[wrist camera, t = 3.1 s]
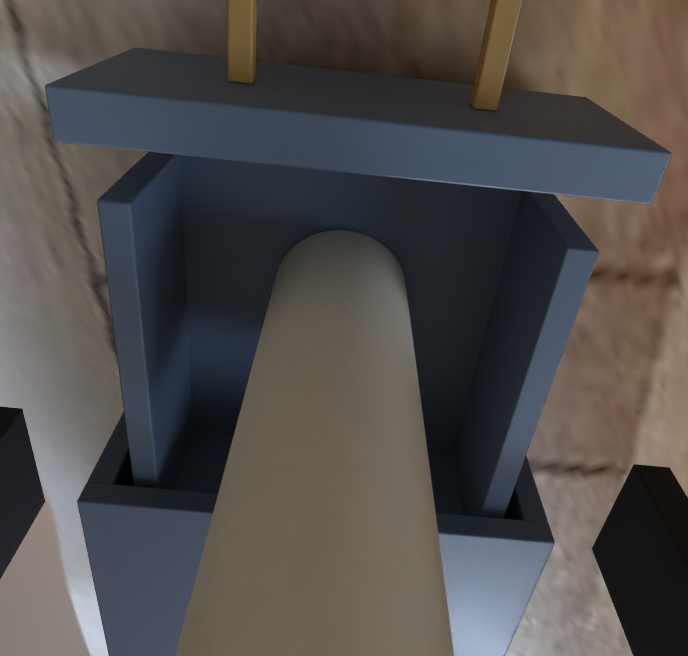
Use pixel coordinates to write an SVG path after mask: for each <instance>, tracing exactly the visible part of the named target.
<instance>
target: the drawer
mask: <svg viewBox="0 0 688 656" xmlns="http://www.w3.org/2000/svg"><path fill="white" fill-rule="evenodd" d="M521 3H522V0H491V3H490V8H489V13H488V17H487V22H486V27H485V32H484V37H483V42H482V47H481V52H480V57H479V62H478V67H477V72H476V77H475V82H474V85H470V84H461V83H452V82H443V81H434V80H424V79H415V78H406V77H397V76H388V75H379V74H370V73H361V72H352V71H343V70H334V69H325V68H316V67H307V66H298V65H289V64H280V63H271V62H262V61H256V22H257V0H227V16H228V58H225V57H216V56H207V55H198V54H189V53H180V52H171V51H162V50H153V49H144V48H133V49H130V50H128V51H126V52H123V53H121V54H118V55H116V56H114V57H111V58H109V59H106V60H104V61H102V62H99V63H97V64H95V65H92V66H90V67H87V68H85V69H83V70H80V71H78V72H75V73H73V74H71V75H68V76H66V77H63V78H61V79H59V80H56V81H54V82H52V83H49V84H47V85H46V86H45V91H46V97H47V103H48V109H49V115H50V122H51V128H52V134H53V139H54V141H56V142H62V143H71V144H81V145H90V146H100V147H109V148H119V149H128V150H138V151H147V152H148V153H147V154H146V155H145V156H144V157H143V158H142V159H141V160H139V161H138V162H137V163H136V164H135V165H134V166H133V167H132V168H131V169H130V170H129V171H128V172H127V173H126V174H124V175H123V176H122V177H121V178H120V179H119V180H118V181H117V182H116V183H115V184H114V185H113V186H112V187H111V188H109V189H108V190H107V191H106V192H105V193H104V194H103V195H102V196H101V197H100V198H99V199H98V201H97V204H98V211H99V219H100V227H101V235H102V242H103V250H104V258H105V266H106V273H107V281H108V289H109V297H110V304H111V312H112V320H113V328H114V335H115V343H116V351H117V359H118V366H119V374H120V382H121V390H122V397H123V405H124V413H125V421H126V428H127V436H128V444H129V452H130V459H131V467H132V475H133V483H134V486H137V487H148V488H160V489H171V490H182V491H194V492H205V493H217V494H218V493H219V489H220V485H221V482H222V478H223V474H224V470H225V466H226V463H227V459H228V455H229V451H230V448H231V444H232V440H233V436H234V433H235V429H236V425H237V421H238V418H239V414H240V410H241V406H242V402H243V399H244V395H245V391H246V387H247V384H248V380H249V376H250V372H251V369H252V365H253V361H254V357H255V354H256V350H257V346H258V342H259V338H260V335H261V331H262V327H263V323H264V320H265V316H266V312H267V308H268V305H269V301H270V297H271V293H272V289H273V286H274V282H275V278H276V274H277V271H278V268H279V266H280V264H281V262H282V260H283V258H284V257H285V256H286V254H287V253H288V252H289V251H290V250H291V249H292V248H293V247H294V246H295V245H296V244H298V243H299V242H300V241H302V240H304V239H306V238H307V237H309V236H312V235H314V234H317V233H321V232H325V231H332V230H347V231H354V232H358V233H362V234H364V235H367V236H370V237H371V238H373V239H375V240H377V241H379V242H380V243H381V244H383V245H384V246H385V247H386V248H387V249H389V250H390V251H391V253H392V254H393V255H394V256H395V257H396V259H397V261H398V262H399V264H400V266H401V268H402V271H403V274H404V278H405V284H406V291H407V299H408V307H409V314H410V322H411V329H412V337H413V345H414V352H415V360H416V367H417V375H418V383H419V390H420V398H421V406H422V413H423V421H424V428H425V436H426V444H427V451H428V459H429V466H430V474H431V482H432V489H433V497H434V504H435V512H436V513H444V514H456V515H467V516H478V517H490V518H501V519H503V517H504V515H505V512H506V509H507V506H508V504H509V501H510V498H511V495H512V492H513V490H514V487H515V484H516V481H517V479H518V476H519V473H520V470H521V467H522V465H523V462H524V459H525V456H526V454H527V451H528V448H529V445H530V442H531V440H532V437H533V434H534V431H535V428H536V426H537V423H538V420H539V417H540V415H541V412H542V409H543V406H544V403H545V401H546V398H547V395H548V392H549V390H550V387H551V384H552V381H553V378H554V376H555V373H556V370H557V367H558V365H559V362H560V359H561V356H562V353H563V351H564V348H565V345H566V342H567V340H568V337H569V334H570V331H571V328H572V326H573V323H574V320H575V317H576V314H577V312H578V309H579V306H580V303H581V301H582V298H583V295H584V292H585V289H586V287H587V284H588V281H589V278H590V276H591V273H592V270H593V267H594V264H595V262H596V259H597V256H598V253H599V251H598V249H597V248H596V247H595V246H594V244H593V243H592V242H591V240H590V239H589V238H588V237H587V235H586V234H585V233H584V232H583V230H582V229H581V228H580V227H579V225H578V224H577V223H576V222H575V220H574V219H573V218H572V217H571V215H570V214H569V213H568V212H567V210H566V209H565V208H564V206H563V205H562V204H561V203H560V201H559V200H558V199H557V198H556V196H555V195H554V194H556V195H566V196H575V197H585V198H594V199H604V200H613V201H623V202H632V203H642V204H652V202H653V200H654V197H655V195H656V192H657V190H658V187H659V185H660V182H661V179H662V177H663V174H664V172H665V169H666V167H667V164H668V162H669V159H670V157H671V152H669V151H668V150H666V149H665V148H663V147H662V146H660V145H658V144H657V143H655V142H654V141H652V140H651V139H649V138H648V137H646V136H645V135H643V134H642V133H640V132H638V131H637V130H635V129H634V128H632V127H631V126H629V125H628V124H626V123H625V122H623V121H621V120H620V119H618V118H617V117H615V116H614V115H612V114H611V113H609V112H608V111H606V110H604V109H603V108H601V107H600V106H598V105H597V104H595V103H594V102H592V101H591V100H589V99H587V98H586V97H578V96H569V95H560V94H551V93H542V92H533V91H524V90H515V89H506V88H502V87H503V83H504V78H505V74H506V69H507V65H508V61H509V56H510V52H511V47H512V43H513V39H514V34H515V30H516V25H517V21H518V17H519V12H520V8H521Z"/></svg>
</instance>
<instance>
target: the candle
mask: <svg viewBox="0 0 688 656" xmlns="http://www.w3.org/2000/svg"><path fill="white" fill-rule="evenodd" d="M175 656H454V649H453V641H452V634H451V626H450V619H449V611H448V603H447V596H446V588H445V581H444V573H443V565H442V558H441V550H440V543H439V535H438V527H437V520H436V512H435V504H434V497H433V489H432V482H431V474H430V466H429V459H428V451H427V444H426V436H425V428H424V421H423V413H422V406H421V398H420V390H419V383H418V375H417V367H416V360H415V352H414V345H413V337H412V329H411V322H410V314H409V307H408V299H407V291H406V284H405V278H404V274H403V271H402V268H401V266H400V264H399V262H398V261H397V259H396V257H395V256H394V255H393V254H392V253H391V251H390V250H389V249H387V248H386V247H385V246H384V245H383V244H381V243H380V242H379V241H377V240H375V239H373V238H371V237H370V236H367V235H364V234H362V233H358V232H354V231H347V230H332V231H325V232H321V233H317V234H314V235H312V236H309V237H307V238H306V239H304V240H302V241H300V242H299V243H298V244H296V245H295V246H294V247H293V248H292V249H291V250H290V251H289V252H288V253H287V254H286V256H285V257H284V258H283V260H282V262H281V264H280V266H279V268H278V271H277V274H276V278H275V282H274V286H273V289H272V293H271V297H270V301H269V305H268V308H267V312H266V316H265V320H264V323H263V327H262V331H261V335H260V338H259V342H258V346H257V350H256V354H255V357H254V361H253V365H252V369H251V372H250V376H249V380H248V384H247V387H246V391H245V395H244V399H243V402H242V406H241V410H240V414H239V418H238V421H237V425H236V429H235V433H234V436H233V440H232V444H231V448H230V451H229V455H228V459H227V463H226V466H225V470H224V474H223V478H222V482H221V485H220V489H219V493H218V497H217V500H216V504H215V508H214V512H213V515H212V519H211V523H210V527H209V530H208V534H207V538H206V542H205V546H204V549H203V553H202V557H201V561H200V564H199V568H198V572H197V576H196V579H195V583H194V587H193V591H192V595H191V598H190V602H189V606H188V610H187V613H186V617H185V621H184V625H183V628H182V632H181V636H180V640H179V643H178V647H177V651H176V655H175Z"/></svg>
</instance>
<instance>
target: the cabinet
mask: <svg viewBox="0 0 688 656" xmlns="http://www.w3.org/2000/svg"><path fill="white" fill-rule="evenodd" d="M217 497H218V494H217V493H205V492H194V491H182V490H171V489H160V488H148V487H137V486H134V483H133V475H132V467H131V459H130V452H129V444H128V436H127V428H126V421H125V413H124V412H123V414H122V416H121V418H120V420H119V422H118V424H117V426H116V428H115V429H114V431H113V433H112V435H111V437H110V439H109V441H108V443H107V445H106V447H105V449H104V451H103V453H102V455H101V456H100V458H99V460H98V462H97V464H96V466H95V468H94V470H93V472H92V474H91V476H90V478H89V480H88V482H87V483H86V485H85V487H84V489H83V491H82V493H81V495H80V497H79V499H78V501H77V503H78V508H79V513H80V518H81V523H82V527H83V532H84V537H85V542H86V547H87V552H88V557H89V561H90V566H91V571H92V576H93V581H94V586H95V591H96V595H97V600H98V605H99V610H100V615H101V620H102V625H103V629H104V634H105V639H106V644H107V649H108V654H109V656H175V655H176V651H177V647H178V643H179V640H180V636H181V632H182V628H183V625H184V621H185V617H186V613H187V610H188V606H189V602H190V598H191V595H192V591H193V587H194V583H195V579H196V576H197V572H198V568H199V564H200V561H201V557H202V553H203V549H204V546H205V542H206V538H207V534H208V530H209V527H210V523H211V519H212V515H213V512H214V508H215V504H216V500H217ZM436 520H437V527H438V535H439V543H440V550H441V558H442V565H443V573H444V581H445V588H446V596H447V603H448V611H449V619H450V626H451V634H452V641H453V649H454V656H505V654H506V652H507V650H508V647H509V645H510V643H511V641H512V638H513V636H514V634H515V632H516V629H517V627H518V625H519V623H520V620H521V618H522V616H523V614H524V611H525V609H526V607H527V605H528V602H529V600H530V598H531V595H532V593H533V591H534V589H535V586H536V584H537V582H538V580H539V577H540V575H541V573H542V571H543V568H544V566H545V564H546V562H547V559H548V557H549V555H550V553H551V550H552V548H553V546H554V543H555V542H554V539H553V536H552V533H551V529H550V526H549V524H548V523H547V522H548V521H547V518H546V515H545V512H544V508H543V505H542V502H541V499H540V496H539V493H538V490H537V487H536V484H535V481H534V478H533V475H532V472H531V469H530V466H529V463H528V459H527V456H525V459H524V462H523V465H522V467H521V470H520V473H519V476H518V479H517V481H516V484H515V487H514V490H513V492H512V495H511V498H510V501H509V504H508V506H507V509H506V512H505V515H504V517H503V519H501V518H490V517H478V516H467V515H456V514H444V513H436Z"/></svg>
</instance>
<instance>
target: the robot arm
mask: <svg viewBox="0 0 688 656" xmlns="http://www.w3.org/2000/svg"><path fill="white" fill-rule="evenodd" d="M44 502H45V499H44V495H43V491H42V487H41V483H40V479H39V475H38V471H37V467H36V463H35V458H34V454H33V450H32V446H31V442H30V438H29V434H28V430H27V426H26V422H25V418H24V414H23V410H22V409H19V408H8V407H0V579H1V577H2V575H3V573H4V572H5V570H6V568H7V566H8V565H9V563H10V561H11V560H12V558H13V556H14V554H15V553H16V551H17V549H18V547H19V546H20V544H21V542H22V540H23V539H24V537H25V535H26V534H27V532H28V530H29V528H30V527H31V525H32V523H33V522H34V520H35V518H36V516H37V515H38V513H39V511H40V509H41V508H42V506H43V504H44ZM592 550H593V553H594V555H595V558H596V560H597V563H598V565H599V568H600V571H601V573H602V576H603V578H604V581H605V584H606V586H607V589H608V591H609V594H610V596H611V599H612V602H613V604H614V607H615V609H616V612H617V615H618V617H619V620H620V622H621V625H622V627H623V630H624V633H625V635H626V638H627V640H628V643H629V646H630V648H631V651H632V653H633V656H688V498H687V496H686V495H685V493H684V491H683V490H682V488H681V486H680V484H679V483H678V481H677V479H676V478H675V476H674V474H673V473H672V471H671V469H670V468H668V467H657V466H646V465H635V464H634V465H633V467H632V469H631V471H630V473H629V475H628V477H627V479H626V481H625V483H624V485H623V487H622V489H621V491H620V493H619V495H618V497H617V499H616V501H615V503H614V505H613V507H612V509H611V511H610V513H609V515H608V517H607V519H606V521H605V523H604V525H603V527H602V529H601V531H600V534H599V536H598V538H597V540H596V542H595V544H594V546H593V548H592Z"/></svg>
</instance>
